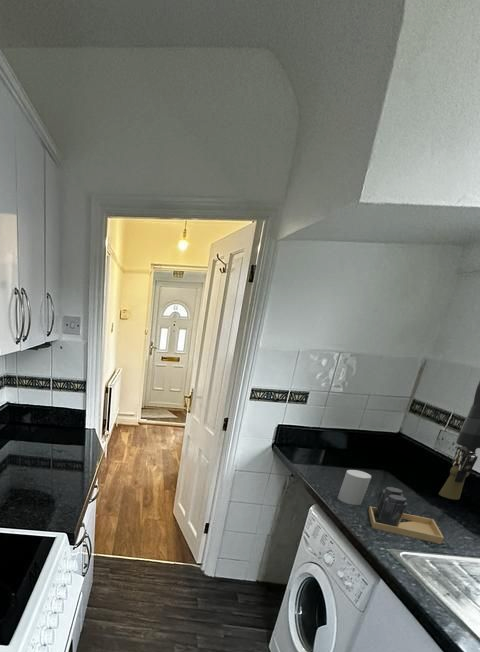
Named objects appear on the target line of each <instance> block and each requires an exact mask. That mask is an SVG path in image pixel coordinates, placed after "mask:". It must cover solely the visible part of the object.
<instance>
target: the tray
mask: <svg viewBox="0 0 480 652" xmlns="http://www.w3.org/2000/svg"><path fill="white" fill-rule="evenodd" d="M376 509H377V507H374V506H369V508H368V510H367V511H368V516H369V520H370V525H371V528H372V529H376V530H380V531H384V532H388V533H392V534H396V535H401V536H405V537H409V538H412V539H417V540H421V541H426V542H429V543H434V544H438V545H442V544H443V542H444V539H445V537H444V535H443V533H442V532H441V530H440V528H439V526H438V525H437V522H436V521H435V519H434V518H429V517H425V516H419V515H414V514H409V513H405V512H404V513H403V516H402V519H401V520H405V521H403V522H401V521H400V524H399V526H398V527H395V526H391V525H386V524H381V523H377V521H376V517H375V516H374V514H375V512H376ZM406 520H407V521H406Z"/></svg>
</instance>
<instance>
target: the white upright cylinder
mask: <svg viewBox="0 0 480 652" xmlns="http://www.w3.org/2000/svg"><path fill="white" fill-rule="evenodd" d="M371 480H372V475H371V474H369V473H367V472H366V471H362V470H359V469H358V470H357V469H347V470H346V472H345V474H344V478H343V480H342V484H341V486H340V489H339V493H338V495H337V500H339V501H340V502H342V503H344V504H348V505H351V506H360V505H362V504H363V500H364V498H365V496H366V493H367V490H368V487H369V484H370V482H371Z"/></svg>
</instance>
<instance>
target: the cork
mask: <svg viewBox="0 0 480 652" xmlns="http://www.w3.org/2000/svg"><path fill="white" fill-rule="evenodd" d="M466 467H467V466H465V468H466ZM458 469H459V466H453V465H452V467H451V468H450V469H449V476H448V478H447V479H446V481H445V482H444V484H443V486H442V487H441V489H440V491H439V492H438V495H439V496H441V497H443V498H446V499H449V500H457V501H458V500H460V499H461V495H462V492H463V488H464V484H465V480H466V478H467V477H469V475H470V473H471V472H468V473H466V475H465V478H464V480H463V482H462V483H460V482H455V481H454V480H455V477H456V475H457V472H458ZM450 474H451V475H450Z"/></svg>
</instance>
